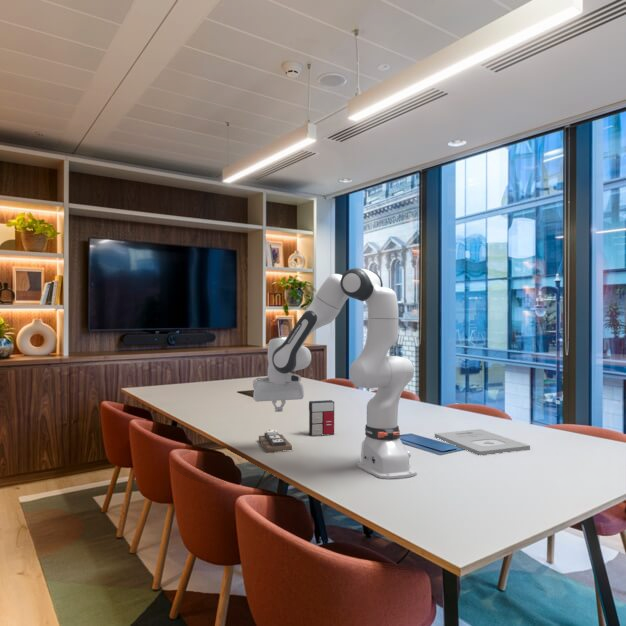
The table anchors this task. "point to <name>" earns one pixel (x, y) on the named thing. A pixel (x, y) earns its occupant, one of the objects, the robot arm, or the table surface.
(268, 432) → the key two
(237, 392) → the table surface
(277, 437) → the key one
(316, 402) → the calculator
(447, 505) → the table surface
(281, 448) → the key panel
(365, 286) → the robot arm
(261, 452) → the table surface
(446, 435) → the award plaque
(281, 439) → the key three
